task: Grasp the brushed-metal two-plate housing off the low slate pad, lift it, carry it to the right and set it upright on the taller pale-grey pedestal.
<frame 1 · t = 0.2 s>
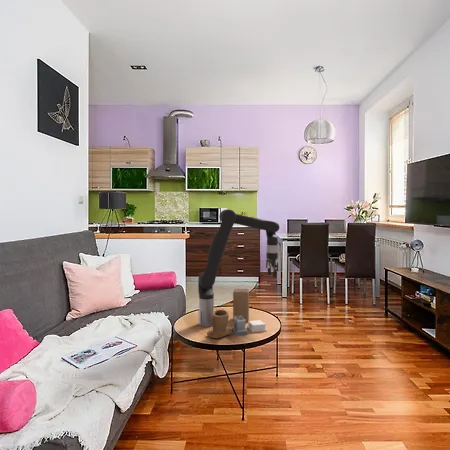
hand: (271, 276, 232), 29 cm above the table, fingers open, 8 cm apart
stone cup: (220, 336, 203), on the table
stand a: (239, 332, 208), on the table
housing: (239, 329, 208), point 2 cm above the table, touching stand a
stand b: (256, 329, 214), on the table
block: (241, 320, 231), on the table
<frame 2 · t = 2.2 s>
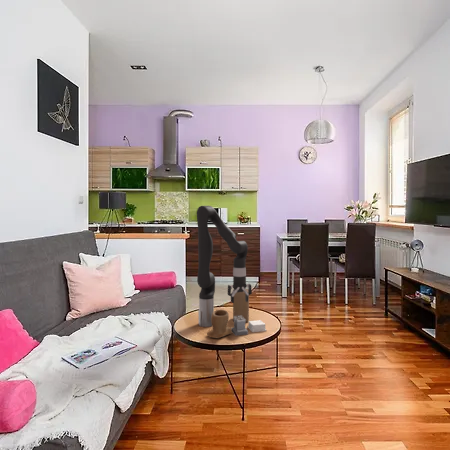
hand: (239, 302, 207), 18 cm above the table, fingers open, 8 cm apart
nothing on the table moved.
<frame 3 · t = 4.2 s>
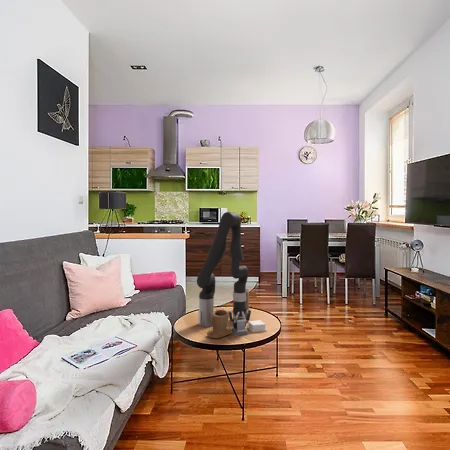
hand: (239, 327, 208), 3 cm above the table, fingers closed on housing, 5 cm apart
housing: (239, 329, 208), point 2 cm above the table, touching gripper, stand a
everything else where it was.
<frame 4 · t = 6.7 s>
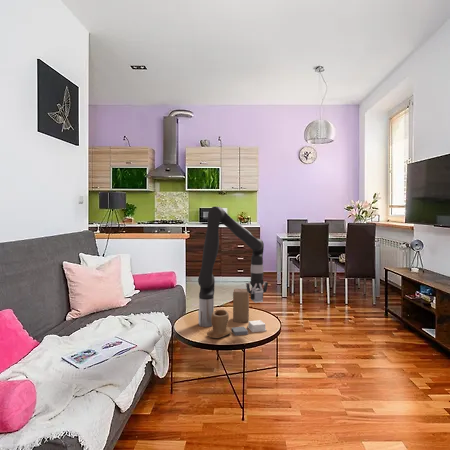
hand: (256, 299, 213), 18 cm above the table, fingers closed on housing, 5 cm apart
housing: (256, 300, 213), point 18 cm above the table, touching gripper
everything else where it was.
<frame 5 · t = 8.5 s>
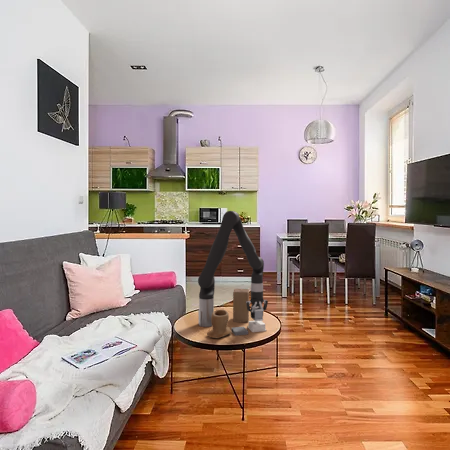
hand: (256, 317, 213), 7 cm above the table, fingers closed on housing, 5 cm apart
housing: (256, 318, 213), point 6 cm above the table, touching gripper
everything else where it was.
when the fingers open (6 cm above the table, at t = 9.6 s): housing drops 1 cm, resting on stand b.
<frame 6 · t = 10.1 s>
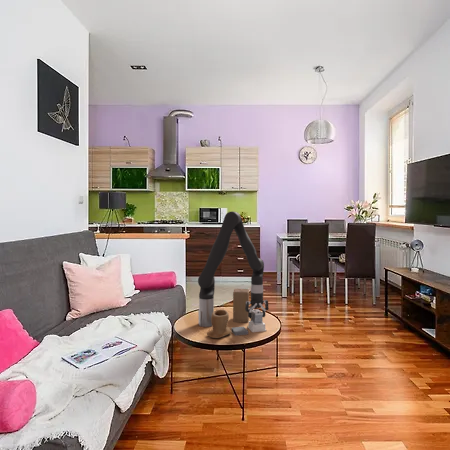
hand: (256, 317, 213), 7 cm above the table, fingers open, 8 cm apart
housing: (256, 322, 214), point 4 cm above the table, touching stand b
everything else where it was.
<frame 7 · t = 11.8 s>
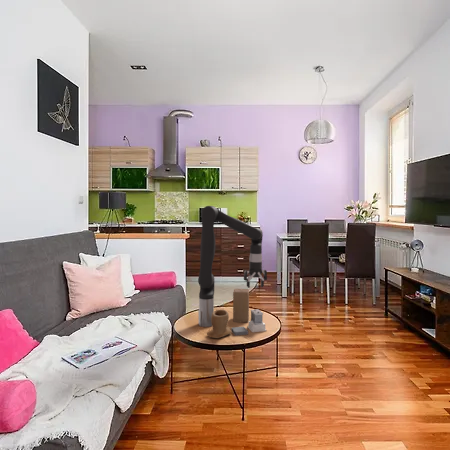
hand: (255, 287, 214), 26 cm above the table, fingers open, 8 cm apart
nothing on the table moved.
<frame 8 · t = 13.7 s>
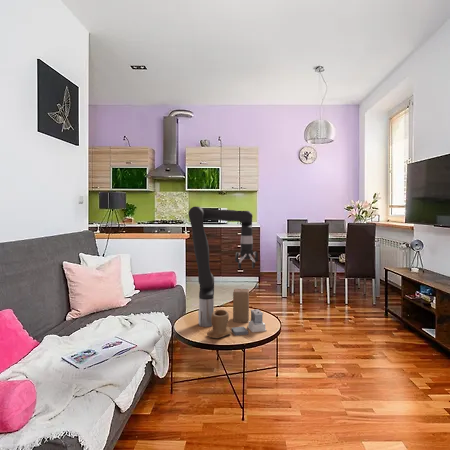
hand: (246, 268, 219), 36 cm above the table, fingers open, 8 cm apart
nothing on the table moved.
at the end: housing 0.1 cm off-centre on the stand b, point 4.0 cm above the stand b's base; housing tilted 0°; the gripper is holding nothing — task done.
